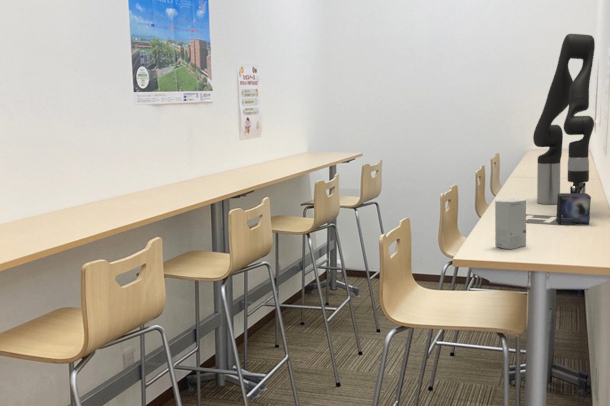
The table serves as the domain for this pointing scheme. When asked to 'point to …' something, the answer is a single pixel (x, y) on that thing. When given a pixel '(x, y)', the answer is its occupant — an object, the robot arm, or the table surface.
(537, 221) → the letter board
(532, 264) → the table surface
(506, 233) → the skincare box
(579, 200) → the small box
